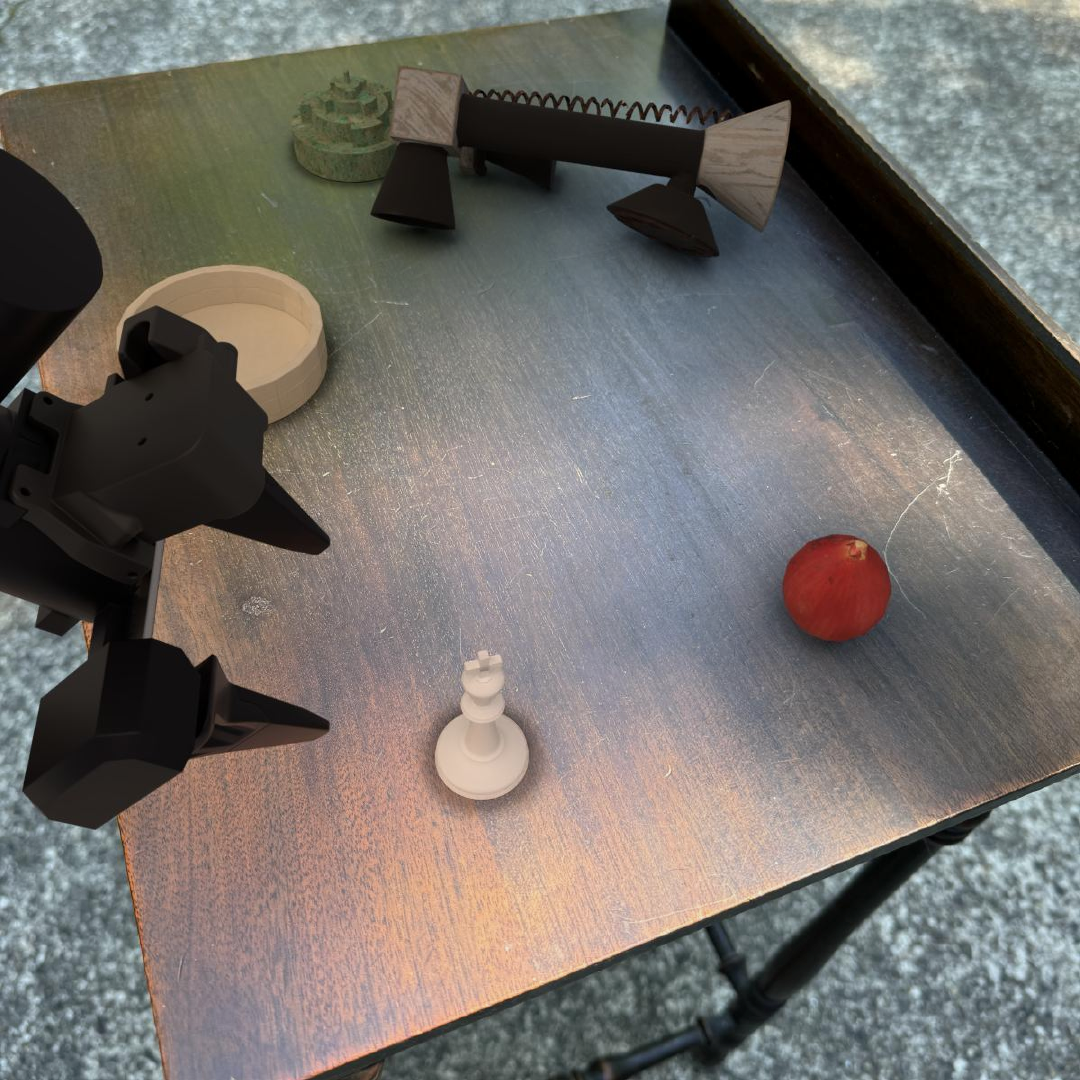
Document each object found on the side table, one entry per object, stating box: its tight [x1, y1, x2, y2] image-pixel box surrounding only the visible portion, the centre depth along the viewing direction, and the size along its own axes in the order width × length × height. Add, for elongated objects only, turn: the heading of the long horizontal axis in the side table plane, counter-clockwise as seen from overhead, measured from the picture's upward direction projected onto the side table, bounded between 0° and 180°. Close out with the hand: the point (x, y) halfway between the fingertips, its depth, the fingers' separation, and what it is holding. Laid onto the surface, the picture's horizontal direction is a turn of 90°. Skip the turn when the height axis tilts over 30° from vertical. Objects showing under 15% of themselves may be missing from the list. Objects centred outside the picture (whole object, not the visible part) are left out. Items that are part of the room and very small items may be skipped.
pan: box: [115, 263, 328, 425], centre depth 70 cm, size 13×13×4 cm
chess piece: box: [434, 649, 530, 801], centre depth 49 cm, size 5×5×10 cm
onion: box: [781, 533, 892, 643], centre depth 57 cm, size 6×6×8 cm
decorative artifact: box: [290, 69, 397, 183], centre depth 86 cm, size 10×7×10 cm
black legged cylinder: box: [369, 65, 792, 259], centre depth 80 cm, size 15×13×30 cm
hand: (324, 633), depth 43 cm, fingers open, 9 cm apart
